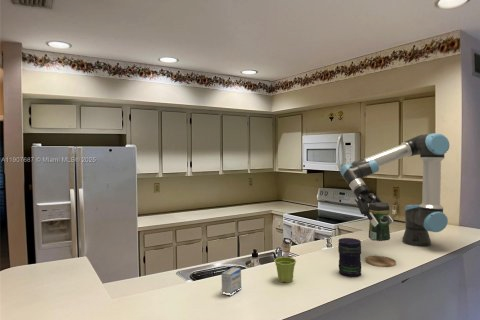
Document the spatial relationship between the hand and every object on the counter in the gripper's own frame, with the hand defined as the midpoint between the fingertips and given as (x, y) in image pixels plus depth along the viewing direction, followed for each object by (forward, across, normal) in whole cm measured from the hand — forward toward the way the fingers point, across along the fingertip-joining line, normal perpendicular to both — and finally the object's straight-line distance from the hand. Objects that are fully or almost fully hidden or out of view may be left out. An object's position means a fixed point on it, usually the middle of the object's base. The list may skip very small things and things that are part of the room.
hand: (384, 223), depth 157 cm
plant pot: (+11, +54, -17) cm, 58 cm away
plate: (+12, 0, -16) cm, 20 cm away
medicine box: (+12, +80, -17) cm, 82 cm away
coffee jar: (+4, 0, -8) cm, 9 cm away
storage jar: (+16, +24, -13) cm, 31 cm away
